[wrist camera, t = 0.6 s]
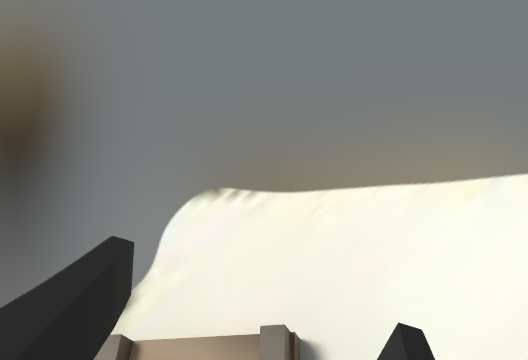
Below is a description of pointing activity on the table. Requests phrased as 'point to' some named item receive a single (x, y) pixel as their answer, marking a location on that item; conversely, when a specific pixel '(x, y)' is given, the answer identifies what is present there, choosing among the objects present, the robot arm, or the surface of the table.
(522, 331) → the table surface
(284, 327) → the board
